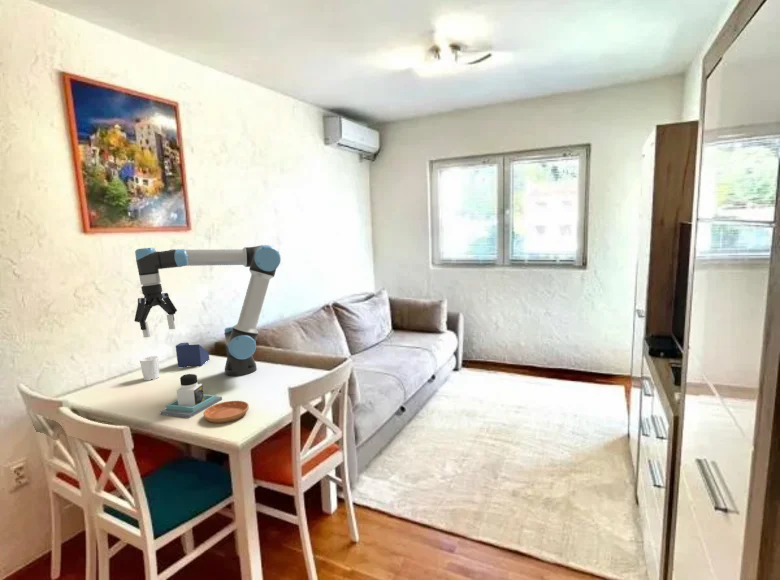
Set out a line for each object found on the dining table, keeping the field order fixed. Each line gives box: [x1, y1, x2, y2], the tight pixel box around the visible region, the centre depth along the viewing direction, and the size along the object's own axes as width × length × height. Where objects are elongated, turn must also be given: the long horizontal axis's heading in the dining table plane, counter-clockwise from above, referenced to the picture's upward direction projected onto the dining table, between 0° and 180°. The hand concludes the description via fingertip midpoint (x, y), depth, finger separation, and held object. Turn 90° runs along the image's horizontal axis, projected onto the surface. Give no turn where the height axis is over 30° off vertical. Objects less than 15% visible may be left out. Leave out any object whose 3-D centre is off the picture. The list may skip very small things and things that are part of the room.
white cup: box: [139, 355, 160, 381], centre depth 212 cm, size 8×8×10 cm
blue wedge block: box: [175, 342, 210, 368], centre depth 233 cm, size 12×12×12 cm
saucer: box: [202, 400, 249, 424], centre depth 162 cm, size 16×16×3 cm
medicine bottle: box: [176, 373, 204, 407], centre depth 172 cm, size 7×7×12 cm
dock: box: [159, 393, 223, 418], centre depth 173 cm, size 18×14×3 cm
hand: (159, 332), depth 187 cm, fingers open, 13 cm apart
